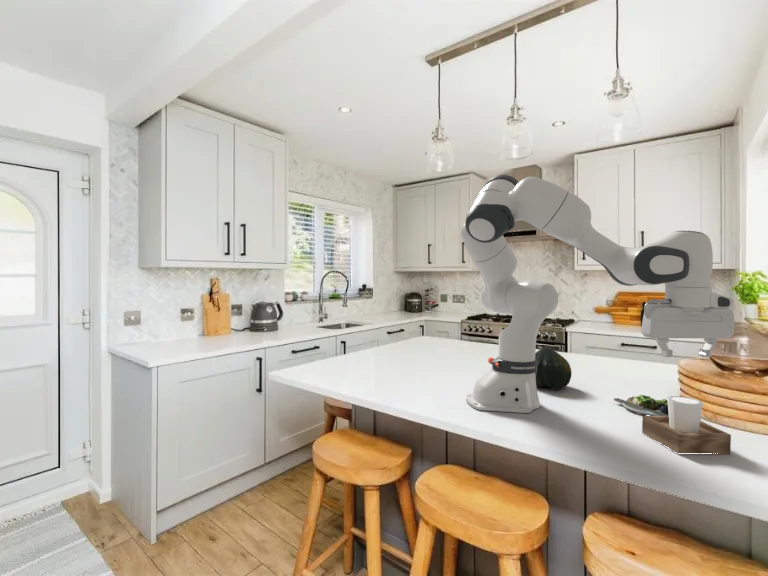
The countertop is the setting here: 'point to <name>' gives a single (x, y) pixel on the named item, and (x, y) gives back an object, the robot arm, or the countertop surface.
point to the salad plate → (645, 405)
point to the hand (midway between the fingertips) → (685, 356)
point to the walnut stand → (687, 437)
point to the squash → (552, 369)
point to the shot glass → (684, 414)
